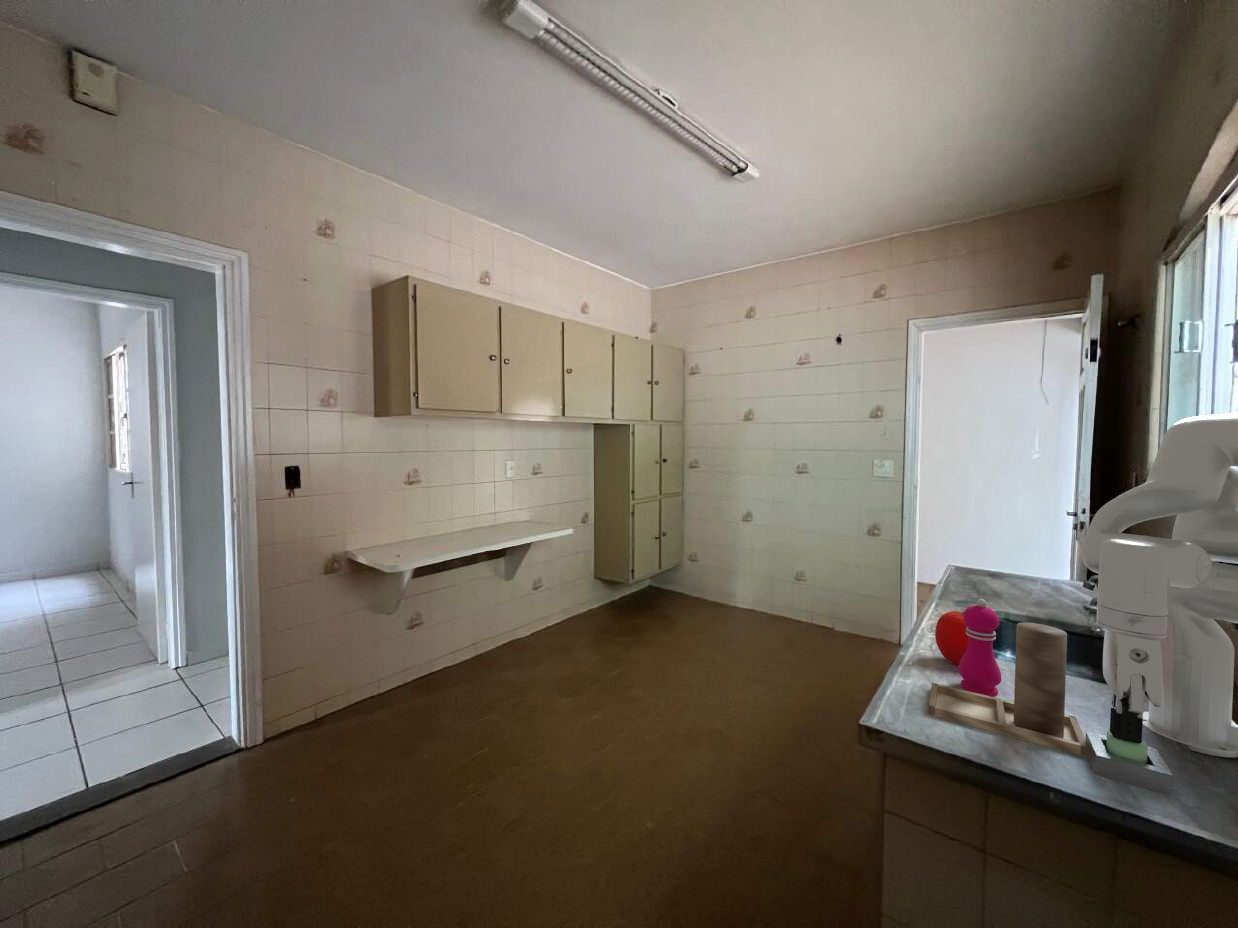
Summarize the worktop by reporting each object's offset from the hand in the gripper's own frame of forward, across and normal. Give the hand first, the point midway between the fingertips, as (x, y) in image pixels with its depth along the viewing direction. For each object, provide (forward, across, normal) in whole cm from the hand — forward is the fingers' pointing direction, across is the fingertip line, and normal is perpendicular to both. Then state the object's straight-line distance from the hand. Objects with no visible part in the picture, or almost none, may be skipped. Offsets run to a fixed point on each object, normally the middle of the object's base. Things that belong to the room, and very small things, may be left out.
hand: (1125, 737), depth 75 cm
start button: (+4, +1, 0) cm, 4 cm away
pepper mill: (+6, +20, +18) cm, 27 cm away
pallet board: (+6, +8, +15) cm, 18 cm away
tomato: (+6, +35, +21) cm, 41 cm away
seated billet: (+5, +8, +9) cm, 13 cm away
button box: (+6, +1, 0) cm, 6 cm away
